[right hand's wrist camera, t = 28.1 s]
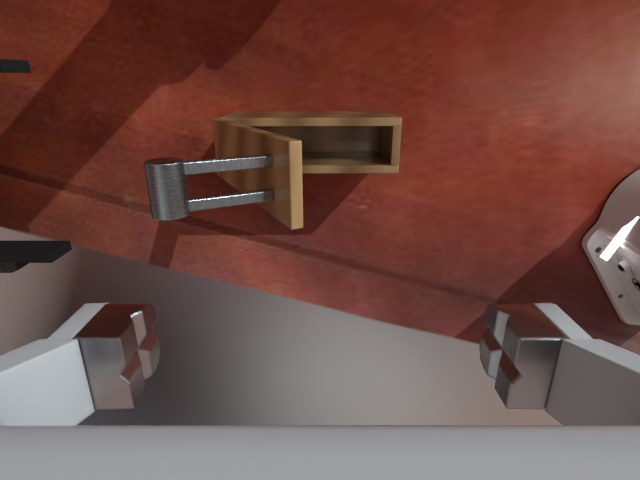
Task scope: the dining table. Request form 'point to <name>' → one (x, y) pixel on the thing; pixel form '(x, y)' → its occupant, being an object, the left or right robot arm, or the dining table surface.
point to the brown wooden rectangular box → (335, 138)
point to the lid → (234, 175)
